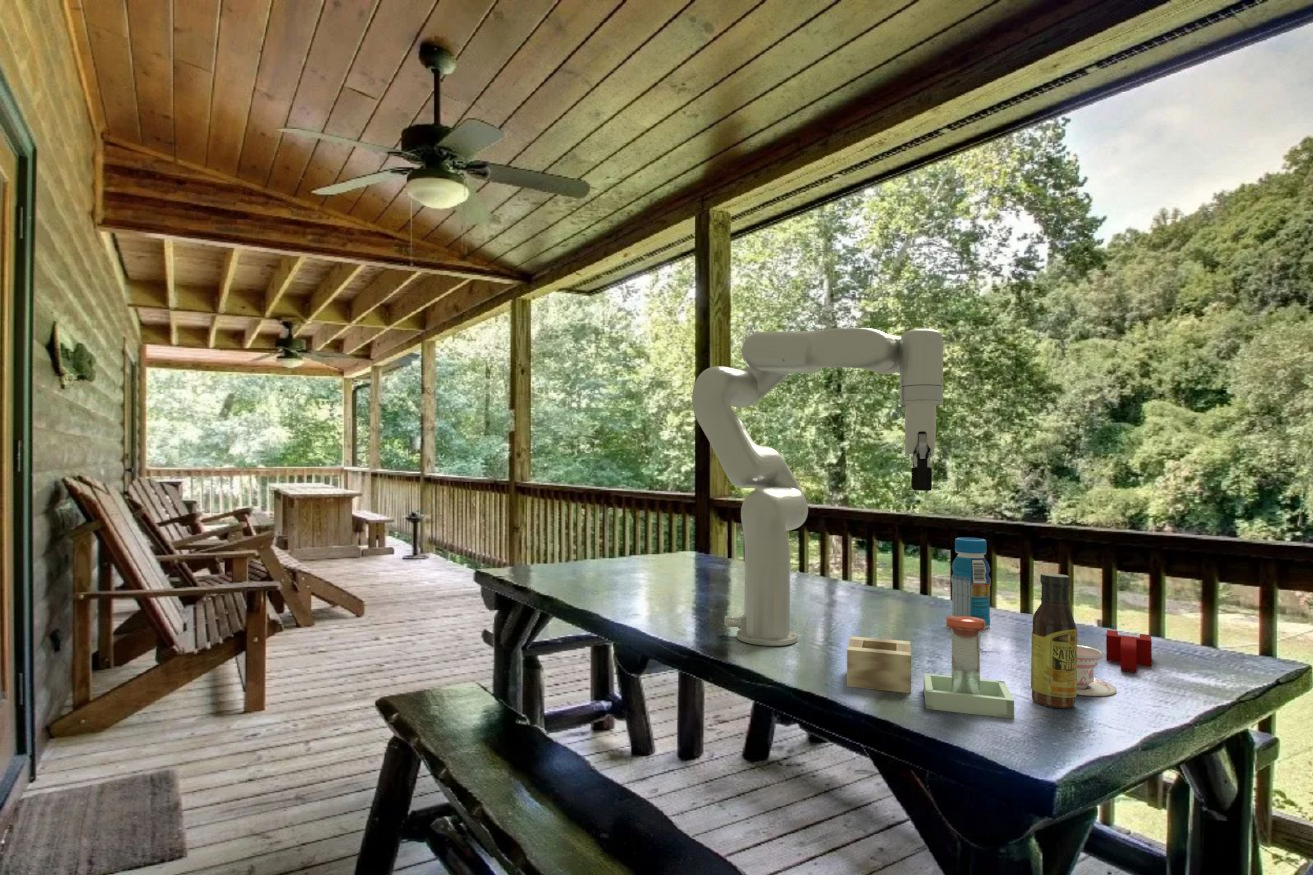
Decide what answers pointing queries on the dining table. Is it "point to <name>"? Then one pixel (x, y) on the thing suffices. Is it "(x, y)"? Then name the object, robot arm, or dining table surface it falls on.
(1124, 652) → the mechanical linkage
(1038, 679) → the sauce bottle
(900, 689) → the socket block
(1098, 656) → the teacup
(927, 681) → the tray
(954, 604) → the beverage bottle
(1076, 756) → the dining table surface
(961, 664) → the pin
